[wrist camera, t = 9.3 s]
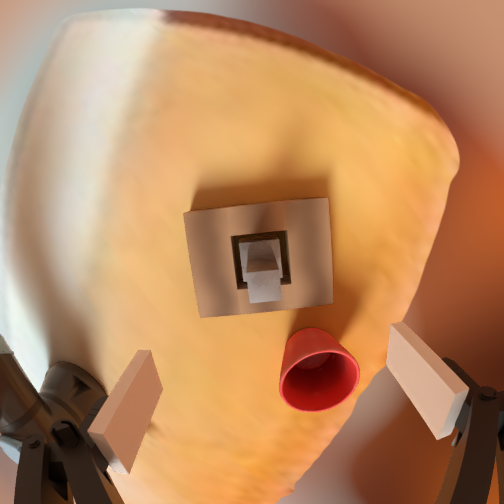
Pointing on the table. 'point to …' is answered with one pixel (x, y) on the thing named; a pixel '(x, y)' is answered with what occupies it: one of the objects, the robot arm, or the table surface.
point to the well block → (258, 221)
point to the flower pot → (316, 372)
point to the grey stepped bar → (261, 267)
